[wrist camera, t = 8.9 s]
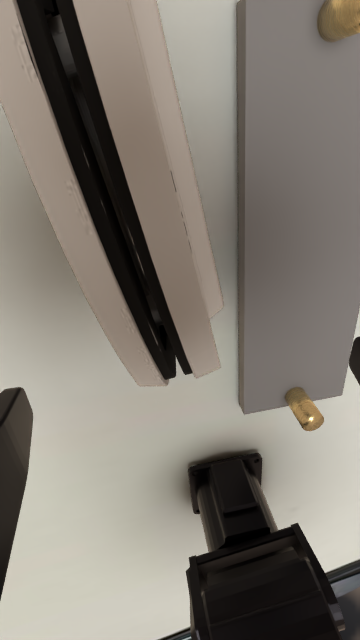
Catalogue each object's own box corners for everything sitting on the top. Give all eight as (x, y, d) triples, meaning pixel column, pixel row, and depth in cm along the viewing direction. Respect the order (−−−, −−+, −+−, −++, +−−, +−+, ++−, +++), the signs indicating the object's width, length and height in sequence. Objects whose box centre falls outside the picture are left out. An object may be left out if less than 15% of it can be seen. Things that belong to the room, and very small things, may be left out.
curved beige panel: (221, 298, 22) (260, 414, 14) (151, 316, 23) (148, 439, 14) (141, -57, 14) (116, -326, 5) (31, -18, 14) (-158, -207, 6)
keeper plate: (333, 385, 28) (364, 421, 25) (239, 403, 27) (257, 443, 24) (404, -10, 16) (484, -46, 12) (236, 3, 15) (273, -31, 12)
